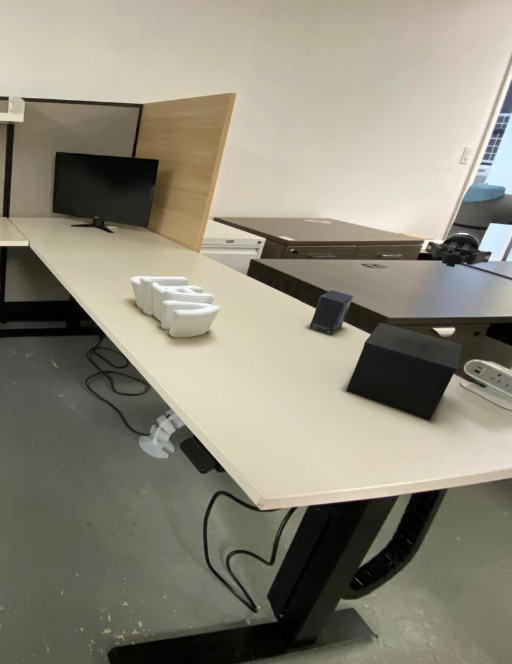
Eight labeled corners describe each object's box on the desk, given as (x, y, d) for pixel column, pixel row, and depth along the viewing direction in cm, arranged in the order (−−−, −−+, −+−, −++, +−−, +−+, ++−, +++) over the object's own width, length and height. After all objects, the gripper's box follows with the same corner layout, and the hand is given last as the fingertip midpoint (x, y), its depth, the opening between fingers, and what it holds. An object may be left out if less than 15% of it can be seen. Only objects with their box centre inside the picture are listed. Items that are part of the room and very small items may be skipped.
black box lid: (454, 372, 90) (456, 368, 90) (363, 345, 100) (365, 341, 99) (460, 347, 102) (462, 344, 102) (379, 325, 112) (380, 322, 111)
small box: (331, 335, 136) (343, 302, 131) (308, 328, 140) (319, 295, 135) (342, 327, 143) (354, 295, 138) (320, 320, 147) (331, 289, 142)
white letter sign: (224, 343, 124) (234, 307, 120) (167, 344, 121) (175, 307, 117) (169, 299, 155) (175, 268, 151) (122, 298, 152) (127, 267, 148)
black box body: (429, 421, 96) (455, 370, 91) (345, 391, 105) (364, 344, 100) (437, 393, 107) (460, 347, 102) (361, 368, 117) (378, 325, 112)
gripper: (484, 268, 120) (481, 283, 103) (423, 256, 127) (411, 269, 111) (498, 238, 117) (497, 250, 100) (434, 229, 124) (424, 238, 108)
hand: (452, 260), depth 106 cm, fingers closed
